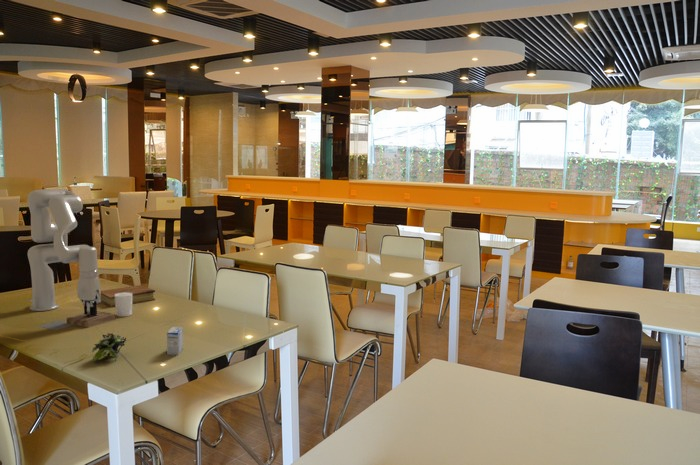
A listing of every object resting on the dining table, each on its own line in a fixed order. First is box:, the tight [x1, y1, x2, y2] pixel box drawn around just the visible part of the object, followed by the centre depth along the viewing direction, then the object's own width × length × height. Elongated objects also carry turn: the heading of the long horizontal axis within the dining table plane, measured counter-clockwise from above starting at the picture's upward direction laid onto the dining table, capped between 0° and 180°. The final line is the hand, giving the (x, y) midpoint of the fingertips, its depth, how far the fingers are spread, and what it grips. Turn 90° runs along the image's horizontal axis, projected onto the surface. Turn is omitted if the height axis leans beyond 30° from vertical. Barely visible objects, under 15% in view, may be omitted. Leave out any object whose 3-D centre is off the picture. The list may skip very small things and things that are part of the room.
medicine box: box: [166, 326, 184, 356], centre depth 215 cm, size 8×4×9 cm, turn 5°
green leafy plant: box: [91, 332, 127, 363], centre depth 206 cm, size 11×11×12 cm
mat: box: [38, 320, 75, 331], centre depth 248 cm, size 12×10×1 cm
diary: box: [100, 284, 156, 308], centre depth 295 cm, size 23×19×6 cm
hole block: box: [66, 310, 116, 328], centre depth 254 cm, size 14×14×3 cm
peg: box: [86, 300, 94, 318], centre depth 253 cm, size 3×3×10 cm
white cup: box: [115, 292, 133, 318], centre depth 266 cm, size 8×8×10 cm
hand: (90, 314), depth 253 cm, fingers closed on peg, 3 cm apart
